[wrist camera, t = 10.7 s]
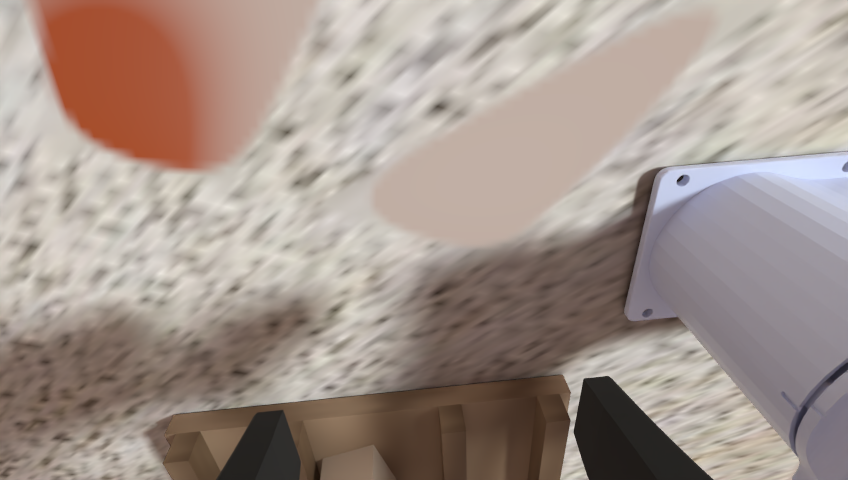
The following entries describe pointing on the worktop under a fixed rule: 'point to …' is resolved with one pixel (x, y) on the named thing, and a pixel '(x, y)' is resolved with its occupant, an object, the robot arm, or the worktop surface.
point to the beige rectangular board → (356, 466)
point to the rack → (401, 432)
